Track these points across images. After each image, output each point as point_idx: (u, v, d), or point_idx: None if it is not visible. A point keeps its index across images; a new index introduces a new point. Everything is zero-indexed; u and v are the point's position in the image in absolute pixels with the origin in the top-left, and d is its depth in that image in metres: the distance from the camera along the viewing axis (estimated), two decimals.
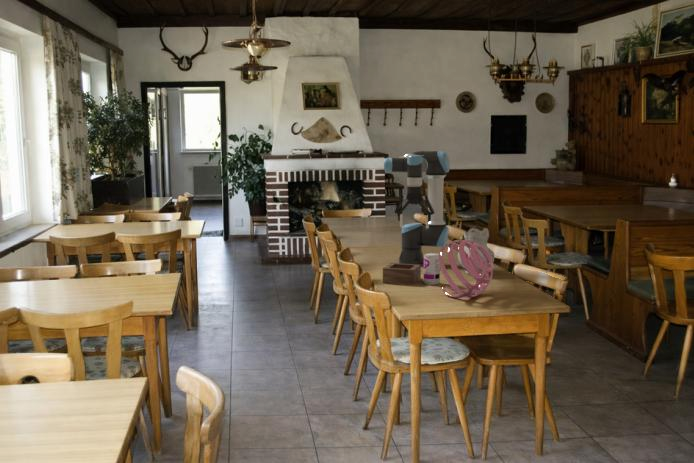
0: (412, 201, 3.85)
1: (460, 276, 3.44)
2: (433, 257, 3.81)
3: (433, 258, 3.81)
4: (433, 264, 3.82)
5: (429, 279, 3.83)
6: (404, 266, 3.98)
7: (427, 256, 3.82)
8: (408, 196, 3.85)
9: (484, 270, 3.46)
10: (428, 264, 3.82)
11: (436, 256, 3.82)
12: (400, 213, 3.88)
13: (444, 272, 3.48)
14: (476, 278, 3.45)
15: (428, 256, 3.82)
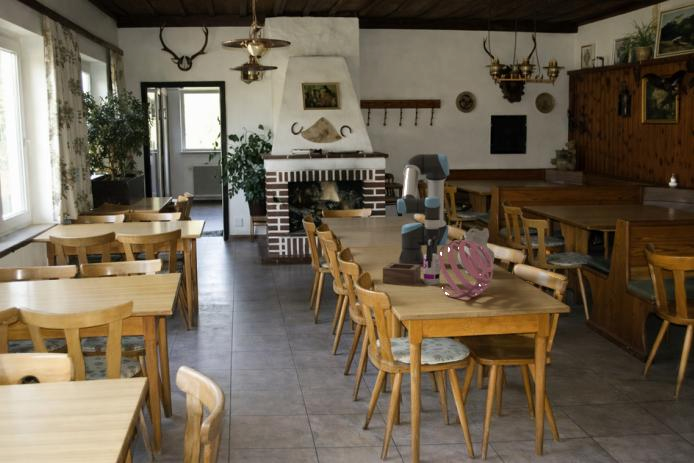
0: None
1: (460, 276, 3.44)
2: (433, 257, 3.81)
3: (433, 258, 3.81)
4: (433, 264, 3.82)
5: (429, 279, 3.83)
6: (404, 266, 3.98)
7: None
8: None
9: (484, 270, 3.46)
10: None
11: (436, 256, 3.82)
12: None
13: (444, 272, 3.48)
14: (476, 278, 3.45)
15: None
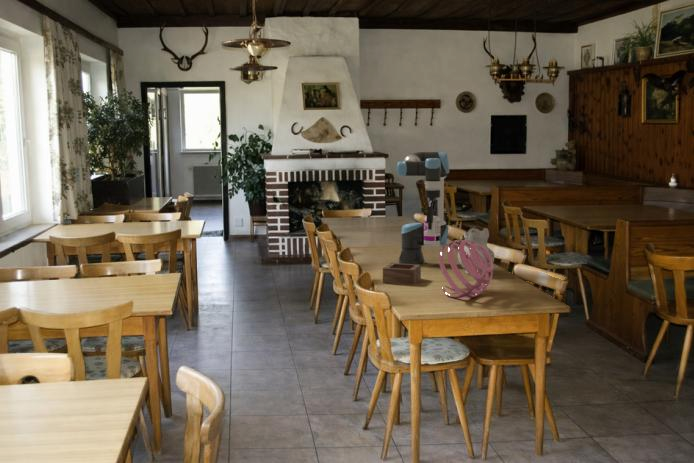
0: None
1: (460, 276, 3.44)
2: (434, 219, 3.79)
3: (434, 220, 3.79)
4: (433, 226, 3.79)
5: (430, 241, 3.80)
6: (404, 266, 3.98)
7: None
8: None
9: (484, 270, 3.46)
10: None
11: (437, 218, 3.79)
12: None
13: (444, 272, 3.48)
14: (476, 278, 3.45)
15: None
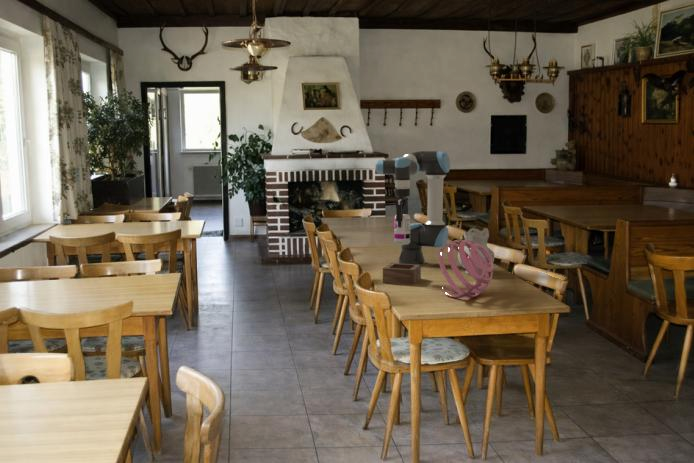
0: None
1: (460, 276, 3.44)
2: (403, 217, 3.86)
3: (403, 218, 3.85)
4: (403, 224, 3.86)
5: (400, 238, 3.87)
6: (404, 266, 3.98)
7: None
8: None
9: (484, 270, 3.46)
10: None
11: (406, 216, 3.86)
12: None
13: (444, 272, 3.48)
14: (476, 278, 3.45)
15: None
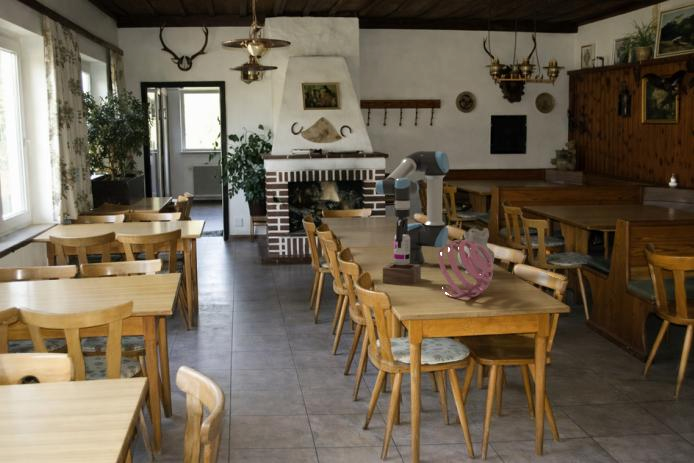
0: None
1: (460, 276, 3.44)
2: (403, 237, 3.87)
3: (403, 238, 3.87)
4: (403, 245, 3.87)
5: (400, 259, 3.88)
6: (404, 266, 3.98)
7: None
8: None
9: (484, 270, 3.46)
10: None
11: (406, 236, 3.88)
12: None
13: (444, 272, 3.48)
14: (476, 278, 3.45)
15: None
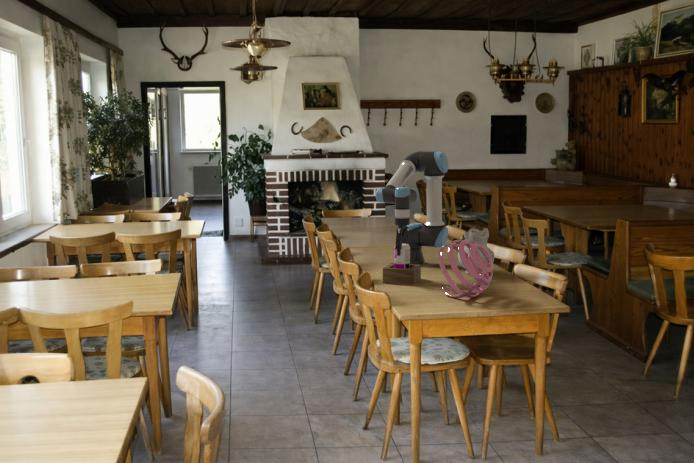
0: None
1: (460, 276, 3.44)
2: (403, 247, 3.88)
3: (403, 248, 3.88)
4: (403, 254, 3.88)
5: (400, 268, 3.89)
6: None
7: None
8: None
9: (484, 270, 3.46)
10: None
11: (406, 246, 3.88)
12: None
13: (444, 272, 3.48)
14: (476, 278, 3.45)
15: None
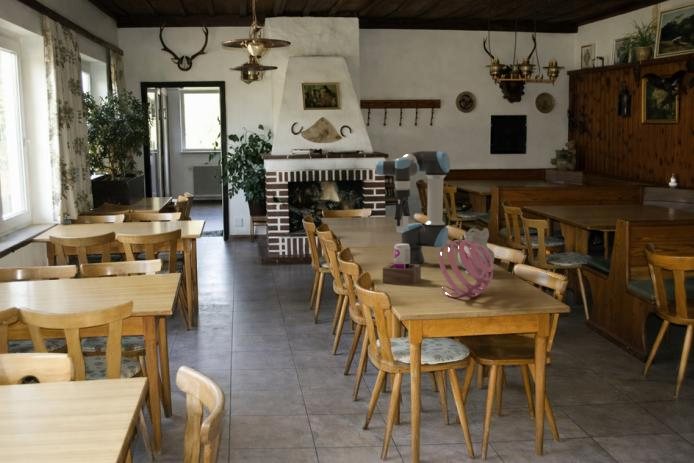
0: None
1: (460, 276, 3.44)
2: (403, 247, 3.88)
3: (403, 248, 3.88)
4: (403, 254, 3.88)
5: (400, 268, 3.89)
6: None
7: (397, 246, 3.89)
8: None
9: (484, 270, 3.46)
10: (398, 254, 3.88)
11: (406, 246, 3.88)
12: (404, 215, 3.96)
13: (444, 272, 3.48)
14: (476, 278, 3.45)
15: (398, 246, 3.88)
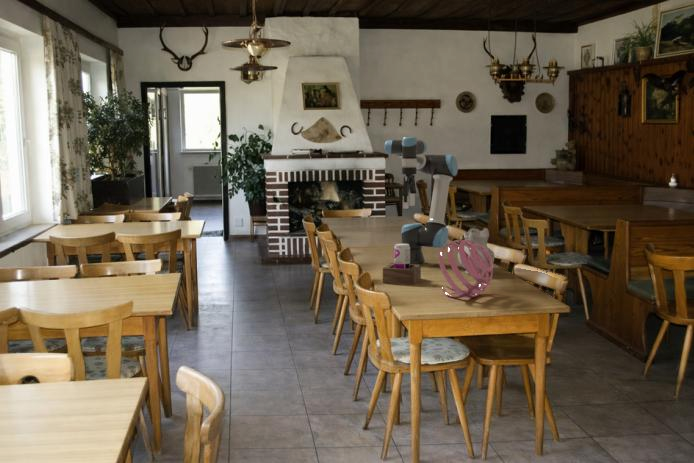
0: None
1: (460, 276, 3.44)
2: (403, 247, 3.88)
3: (403, 248, 3.88)
4: (403, 254, 3.88)
5: (400, 268, 3.89)
6: None
7: (397, 246, 3.89)
8: None
9: (484, 270, 3.46)
10: (398, 254, 3.88)
11: (406, 246, 3.88)
12: (410, 192, 4.08)
13: (444, 272, 3.48)
14: (476, 278, 3.45)
15: (398, 246, 3.88)
